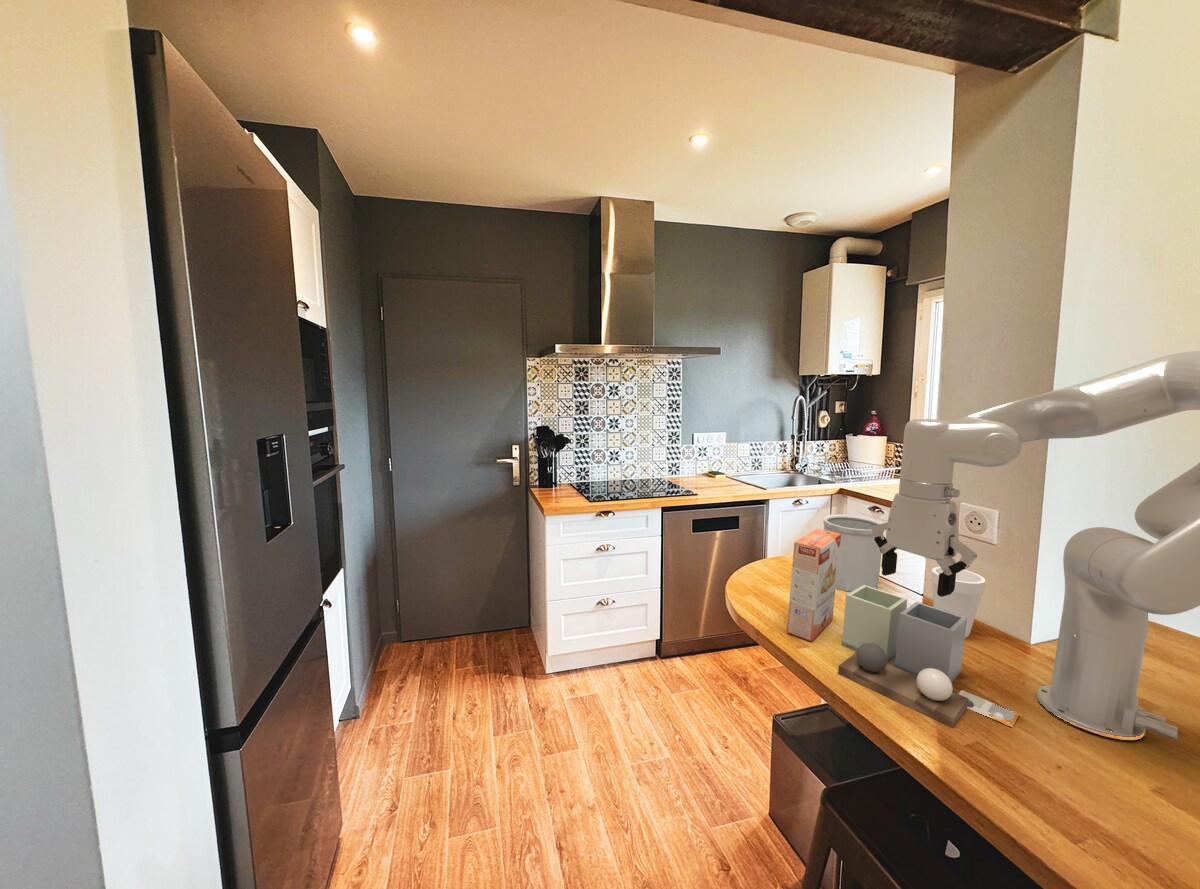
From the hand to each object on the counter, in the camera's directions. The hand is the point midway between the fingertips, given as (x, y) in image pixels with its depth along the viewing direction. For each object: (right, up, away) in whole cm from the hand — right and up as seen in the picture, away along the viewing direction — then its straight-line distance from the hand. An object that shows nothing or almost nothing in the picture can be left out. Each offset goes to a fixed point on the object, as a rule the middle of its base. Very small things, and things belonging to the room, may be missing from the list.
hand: (915, 583), depth 85 cm
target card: (+9, -20, -5) cm, 22 cm away
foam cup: (+22, -17, +21) cm, 35 cm away
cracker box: (-9, -16, +22) cm, 29 cm away
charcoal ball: (-6, -15, +3) cm, 16 cm away
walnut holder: (-3, -19, 0) cm, 19 cm away
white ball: (0, -16, -4) cm, 16 cm away
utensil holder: (+12, -14, +46) cm, 50 cm away
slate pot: (+6, -18, +6) cm, 20 cm away
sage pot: (0, -17, +14) cm, 22 cm away
